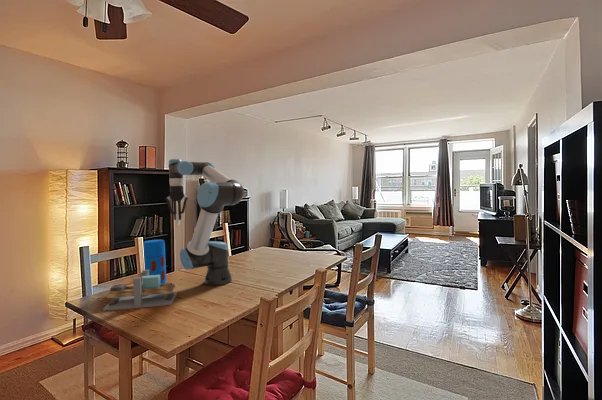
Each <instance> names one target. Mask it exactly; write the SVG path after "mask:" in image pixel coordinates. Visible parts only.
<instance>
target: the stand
mask: <svg viewBox="0 0 602 400" xmlns="http://www.w3.org/2000/svg"><path fill="white" fill-rule="evenodd" d="M141 272H148V276H149V270H145V269H143V270H141ZM138 277H139V278H135V277H133V281H132V282H133V284H132V285H133V286H134V296H129V297H116V298H112V300H111V301H109V302H108V303H107V304H106V305H105V306H104V307H103V308H102V311H103V312H107V311H106V310H108V311H117V310H129V309H141V308H150V307H162V306H172V304H173V302H174V301H175V299H176V297H177V295H178V291H172V292H171V293H167V294H154V295H142V289H141V276H138Z"/></svg>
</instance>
